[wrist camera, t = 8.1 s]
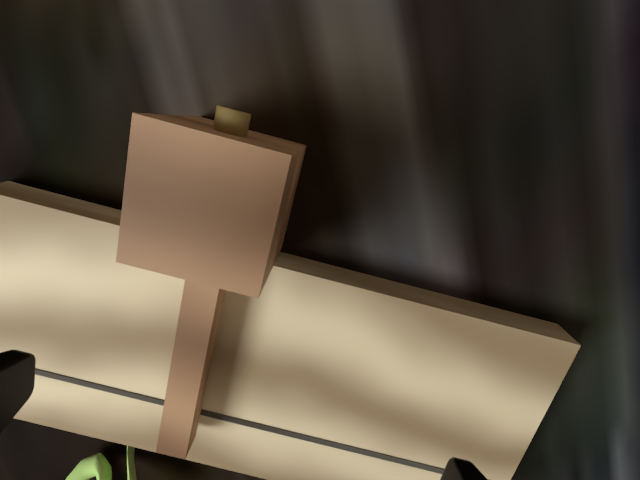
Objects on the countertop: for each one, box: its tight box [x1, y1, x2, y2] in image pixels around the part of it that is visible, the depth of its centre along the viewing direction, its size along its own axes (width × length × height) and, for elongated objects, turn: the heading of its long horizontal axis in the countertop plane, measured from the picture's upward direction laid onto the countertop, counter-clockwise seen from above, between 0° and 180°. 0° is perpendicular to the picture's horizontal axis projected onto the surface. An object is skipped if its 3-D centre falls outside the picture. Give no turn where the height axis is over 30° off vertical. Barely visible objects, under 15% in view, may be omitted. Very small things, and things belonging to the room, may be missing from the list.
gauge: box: [116, 105, 307, 459], centre depth 17 cm, size 16×5×6 cm, turn 165°
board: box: [0, 181, 581, 480], centre depth 20 cm, size 12×28×2 cm, turn 75°
